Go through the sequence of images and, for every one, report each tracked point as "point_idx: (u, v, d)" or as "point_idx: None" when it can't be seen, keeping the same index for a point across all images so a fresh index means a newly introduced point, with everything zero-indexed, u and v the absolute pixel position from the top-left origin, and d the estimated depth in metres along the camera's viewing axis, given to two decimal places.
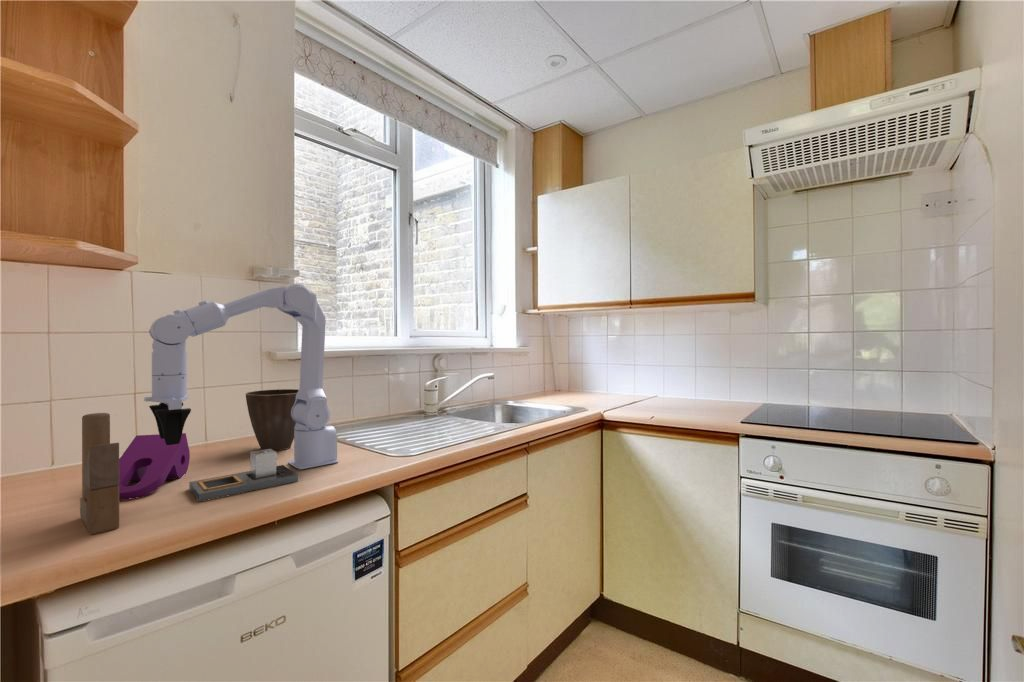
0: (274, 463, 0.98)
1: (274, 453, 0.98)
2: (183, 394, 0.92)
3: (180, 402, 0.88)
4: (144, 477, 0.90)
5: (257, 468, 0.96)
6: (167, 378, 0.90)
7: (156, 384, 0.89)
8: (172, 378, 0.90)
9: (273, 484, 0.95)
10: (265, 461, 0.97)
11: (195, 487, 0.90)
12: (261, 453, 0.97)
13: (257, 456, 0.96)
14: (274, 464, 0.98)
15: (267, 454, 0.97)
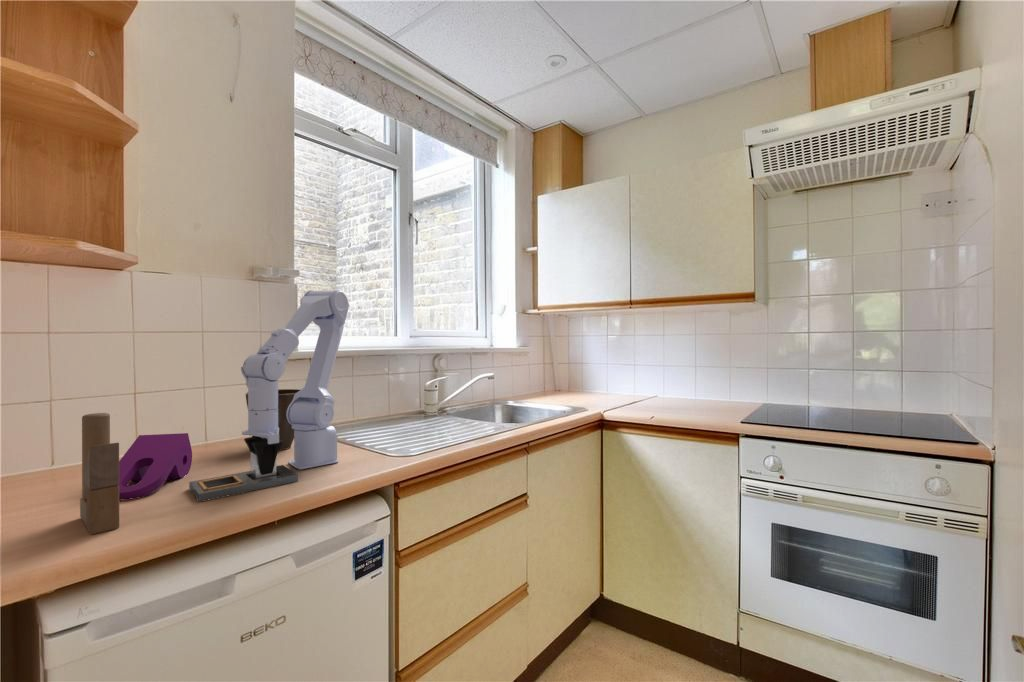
0: None
1: None
2: (276, 427, 0.98)
3: (278, 436, 0.93)
4: (144, 477, 0.90)
5: (257, 468, 0.96)
6: (263, 413, 0.96)
7: (253, 419, 0.95)
8: (267, 413, 0.96)
9: (273, 484, 0.95)
10: None
11: (195, 487, 0.90)
12: None
13: None
14: None
15: None
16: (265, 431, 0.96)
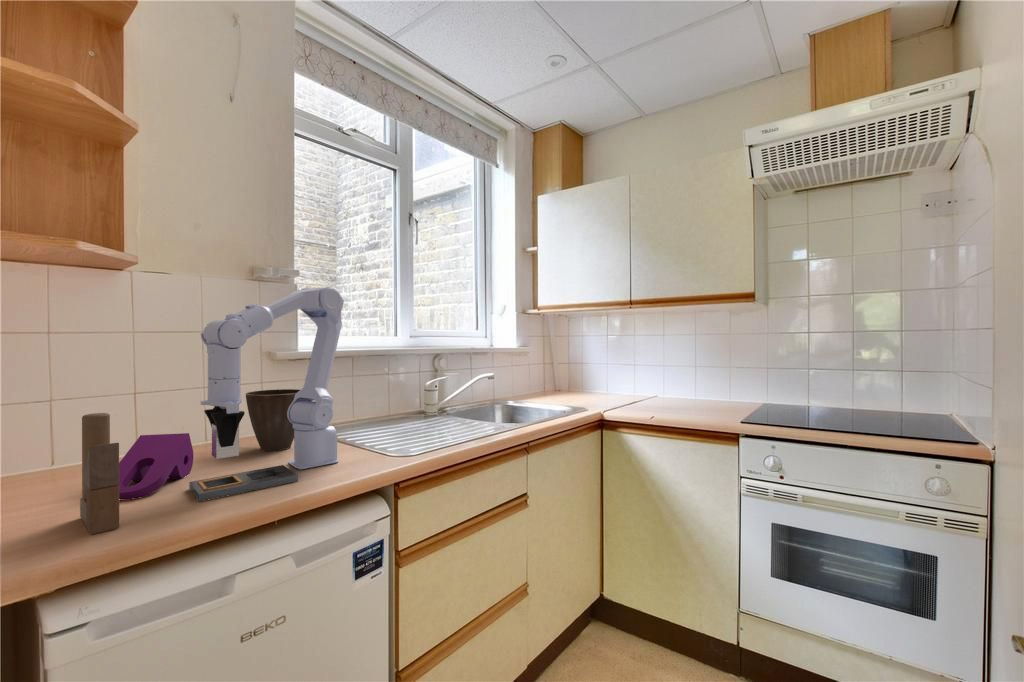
0: (237, 435, 0.93)
1: None
2: (238, 398, 0.93)
3: (237, 406, 0.88)
4: (145, 477, 0.90)
5: (218, 440, 0.91)
6: (223, 382, 0.90)
7: (212, 388, 0.90)
8: (228, 382, 0.91)
9: (273, 484, 0.95)
10: None
11: (195, 487, 0.90)
12: None
13: None
14: (237, 437, 0.93)
15: None
16: (225, 401, 0.91)
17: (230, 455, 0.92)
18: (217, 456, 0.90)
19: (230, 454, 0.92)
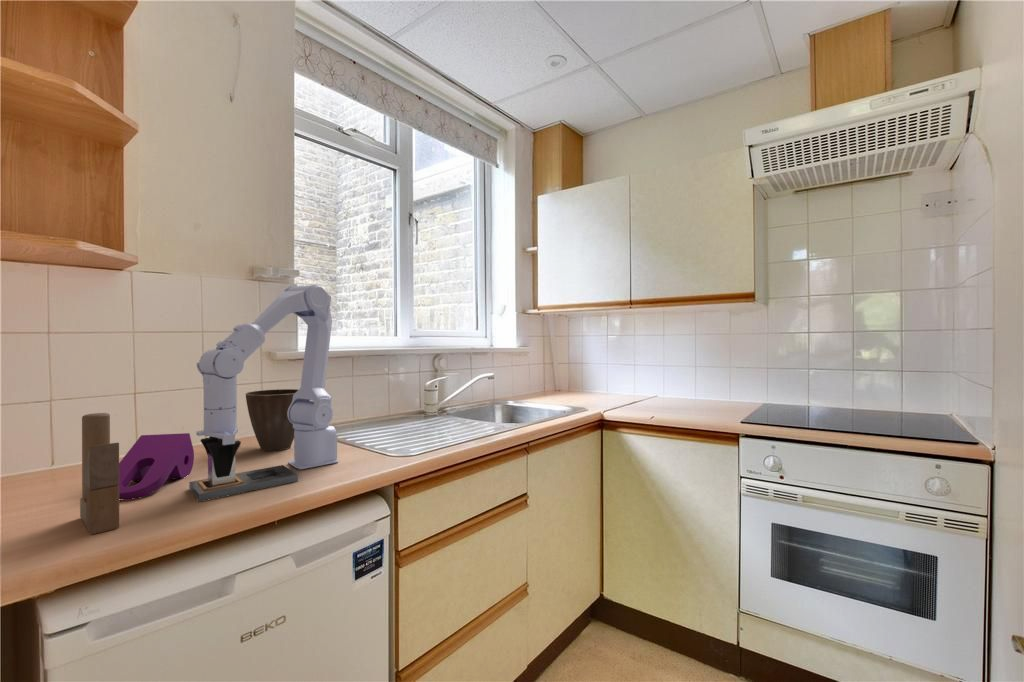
0: (233, 465, 0.92)
1: None
2: (234, 427, 0.92)
3: (233, 437, 0.88)
4: (145, 477, 0.90)
5: (214, 471, 0.90)
6: (219, 412, 0.90)
7: (208, 418, 0.90)
8: (224, 412, 0.91)
9: (273, 484, 0.95)
10: None
11: (195, 487, 0.90)
12: None
13: None
14: (233, 466, 0.92)
15: None
16: (221, 431, 0.90)
17: None
18: None
19: None
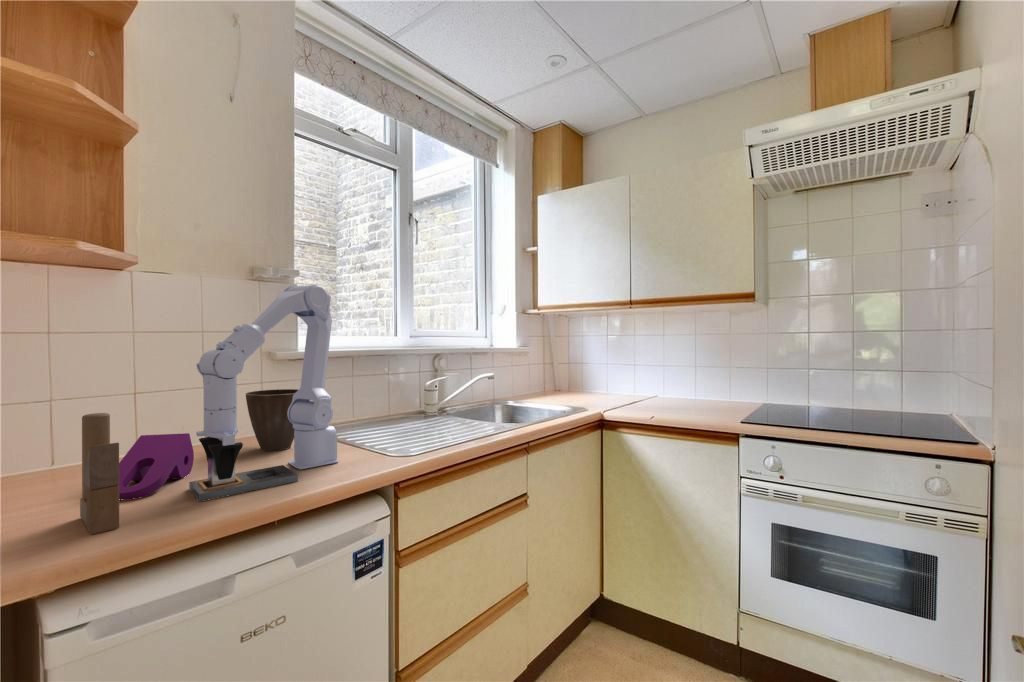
0: (233, 470, 0.92)
1: None
2: (234, 428, 0.92)
3: (233, 437, 0.88)
4: (145, 477, 0.90)
5: (214, 476, 0.90)
6: (219, 413, 0.90)
7: (208, 419, 0.90)
8: (224, 413, 0.91)
9: (273, 484, 0.95)
10: None
11: (195, 487, 0.90)
12: None
13: (214, 463, 0.90)
14: (233, 471, 0.92)
15: None
16: (221, 432, 0.90)
17: None
18: None
19: None
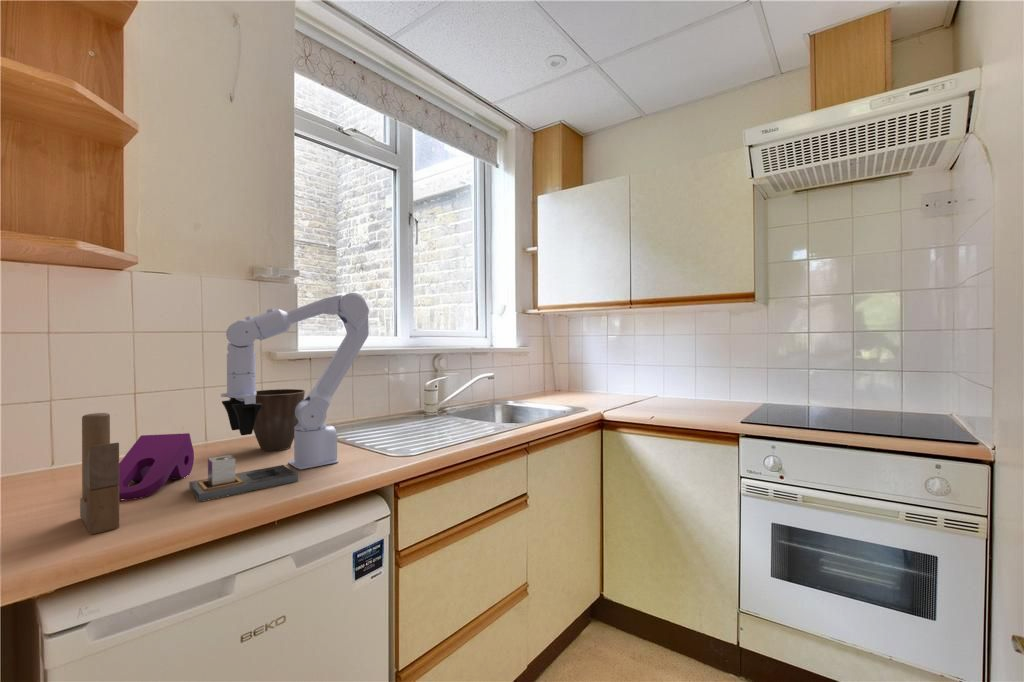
0: (233, 470, 0.92)
1: (233, 460, 0.92)
2: (253, 391, 1.05)
3: (254, 397, 1.00)
4: (145, 477, 0.90)
5: (214, 476, 0.90)
6: (241, 376, 1.02)
7: (231, 382, 1.02)
8: (245, 377, 1.03)
9: (273, 484, 0.95)
10: (223, 468, 0.91)
11: (195, 487, 0.90)
12: (219, 459, 0.92)
13: (214, 463, 0.90)
14: (233, 471, 0.92)
15: (225, 461, 0.91)
16: (243, 393, 1.02)
17: None
18: None
19: None
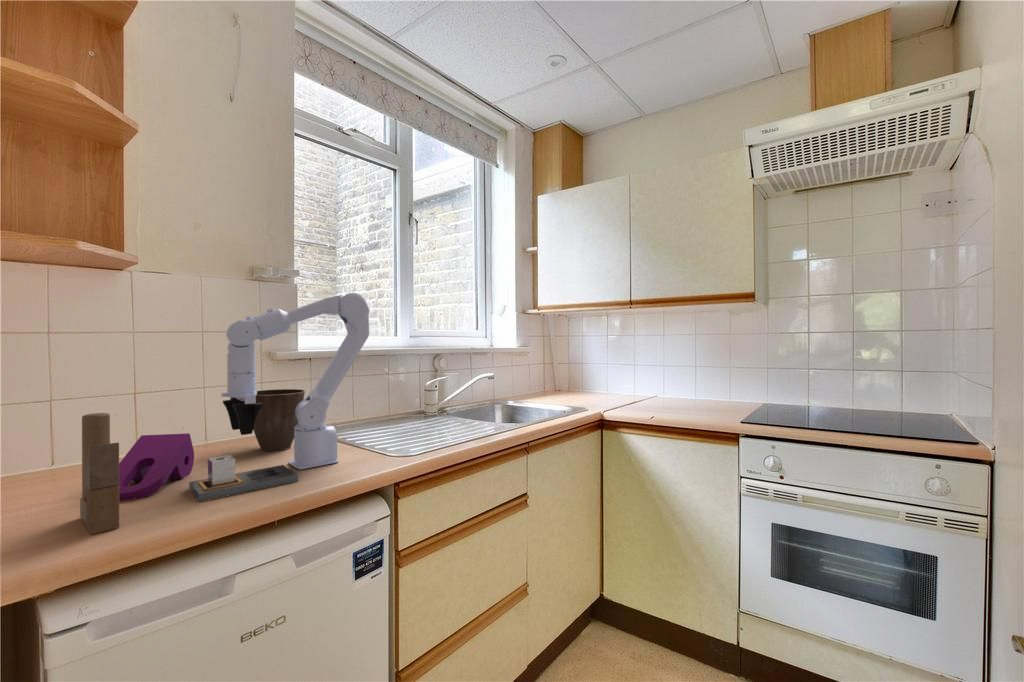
0: (233, 470, 0.92)
1: (233, 460, 0.92)
2: (254, 390, 1.05)
3: (254, 397, 1.00)
4: (145, 477, 0.90)
5: (214, 476, 0.90)
6: (241, 376, 1.02)
7: (232, 381, 1.02)
8: (245, 376, 1.03)
9: (273, 484, 0.95)
10: (223, 468, 0.91)
11: (195, 487, 0.90)
12: (219, 459, 0.92)
13: (214, 463, 0.90)
14: (233, 471, 0.92)
15: (225, 461, 0.91)
16: (243, 393, 1.03)
17: None
18: None
19: None
